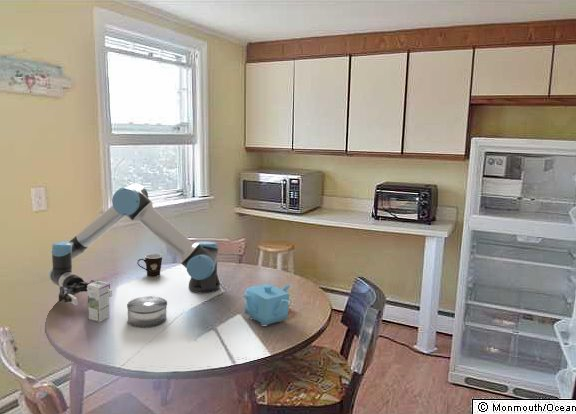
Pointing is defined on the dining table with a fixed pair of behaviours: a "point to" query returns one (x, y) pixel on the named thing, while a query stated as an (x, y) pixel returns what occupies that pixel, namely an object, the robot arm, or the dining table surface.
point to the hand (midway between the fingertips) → (94, 297)
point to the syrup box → (98, 301)
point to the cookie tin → (147, 312)
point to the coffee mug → (152, 264)
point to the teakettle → (267, 303)
